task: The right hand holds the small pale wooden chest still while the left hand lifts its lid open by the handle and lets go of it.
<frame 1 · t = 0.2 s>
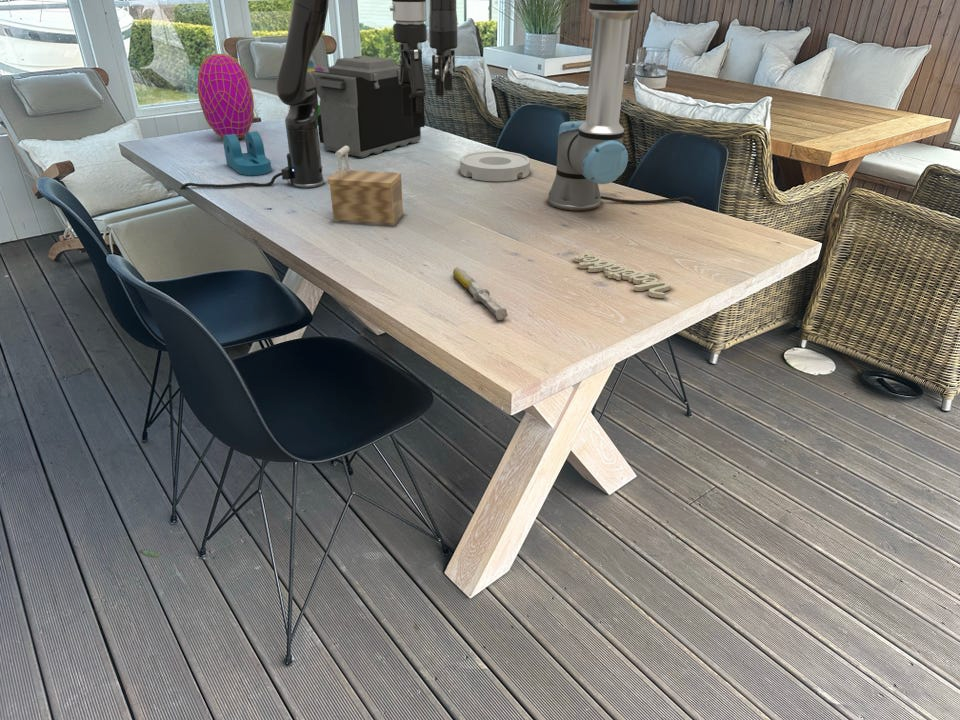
left hand: (444, 93, 191), 29 cm above the table, tool pointing down, fingers open, 8 cm apart
right hand: (413, 121, 165), 28 cm above the table, tool pointing down, fingers open, 13 cm apart
decorative egg: (233, 139, 265), on the table
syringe: (478, 297, 145), on the table
ashtray: (494, 172, 229), on the table
chest: (369, 218, 187), on the table
camera mount: (251, 168, 229), on the table
lid: (363, 165, 180), point 14 cm above the table, hinge at 0.0°
decorative sign: (623, 275, 156), on the table
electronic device: (371, 146, 258), on the table
potted flower: (317, 123, 292), on the table
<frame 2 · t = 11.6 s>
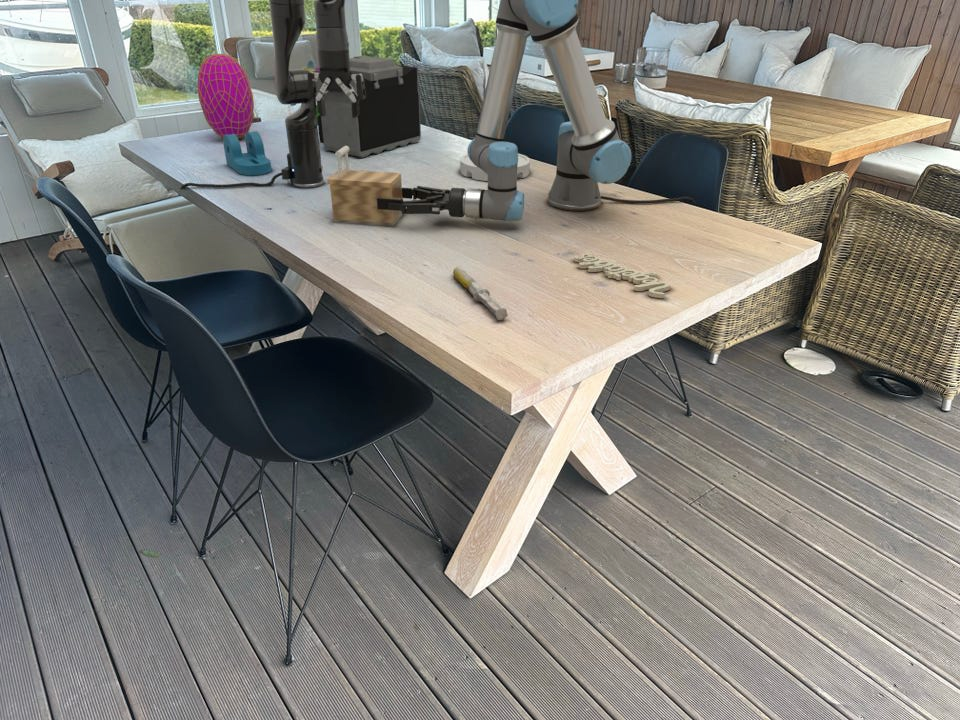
left hand: (339, 116, 175), 26 cm above the table, tool pointing down, fingers open, 8 cm apart
right hand: (383, 197, 184), 6 cm above the table, tool horizontal, fingers closed on chest, 10 cm apart
chest: (368, 218, 187), on the table, touching right hand
everything else where it was.
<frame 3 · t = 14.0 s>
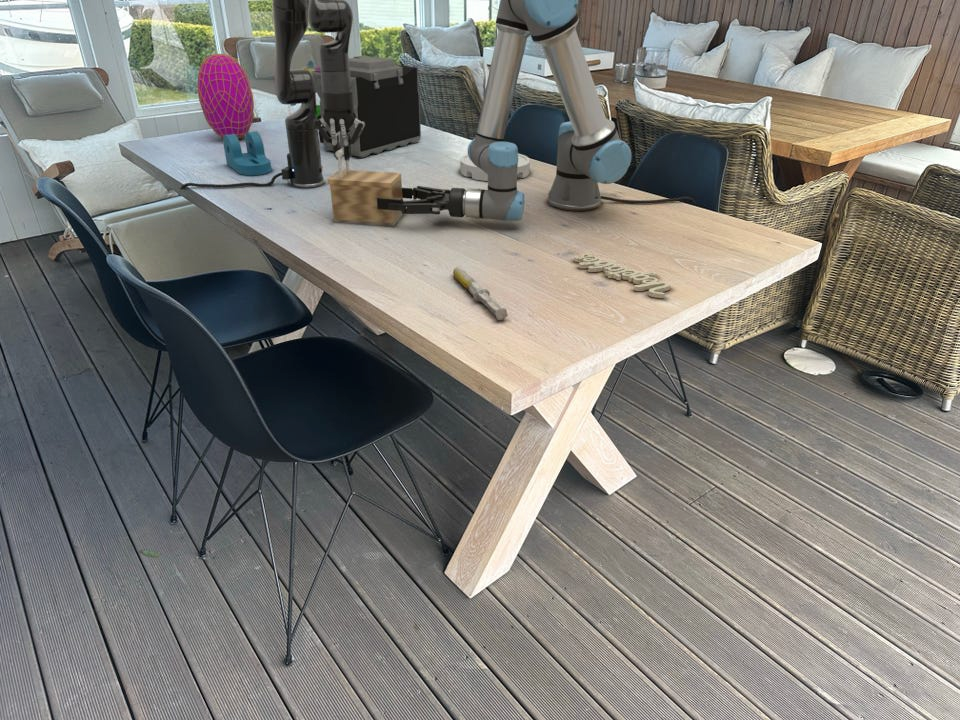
left hand: (343, 159, 180), 16 cm above the table, tool pointing down, fingers closed on lid
right hand: (383, 197, 184), 6 cm above the table, tool horizontal, fingers closed on chest, 10 cm apart
chest: (369, 218, 187), on the table, touching right hand
lid: (363, 165, 180), point 14 cm above the table, hinge at 0.0°, touching left hand
everything else where it was.
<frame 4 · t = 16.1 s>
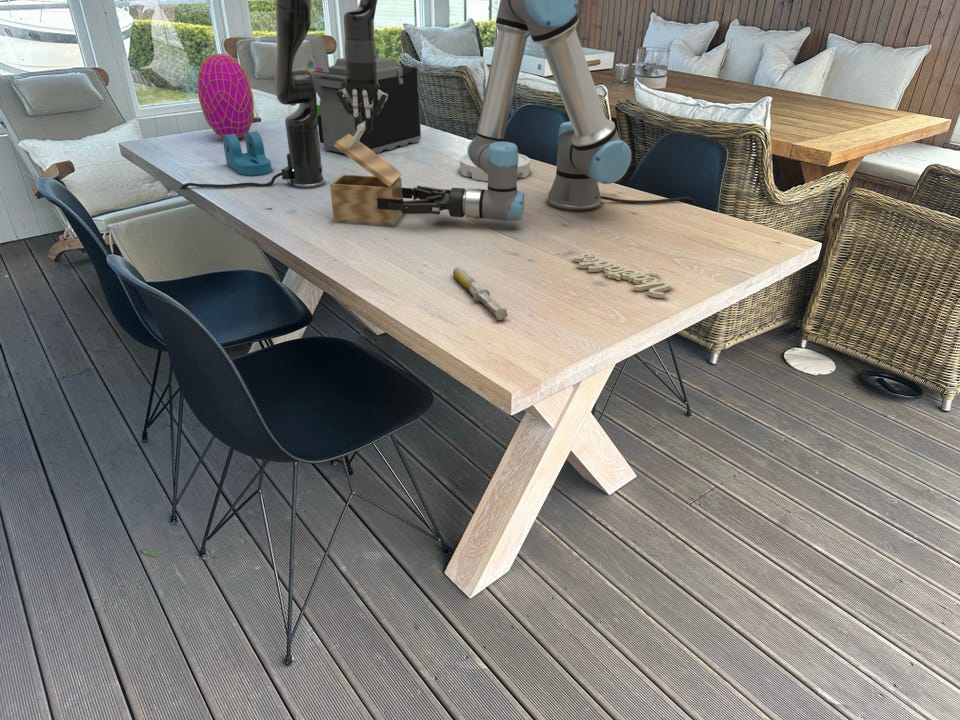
left hand: (364, 132, 176), 23 cm above the table, tool pointing down, fingers closed on lid
right hand: (383, 197, 184), 6 cm above the table, tool horizontal, fingers closed on chest, 10 cm apart
chest: (369, 218, 187), on the table, touching right hand
lid: (375, 149, 177), point 19 cm above the table, hinge at 34.8°, touching left hand
everything else where it was.
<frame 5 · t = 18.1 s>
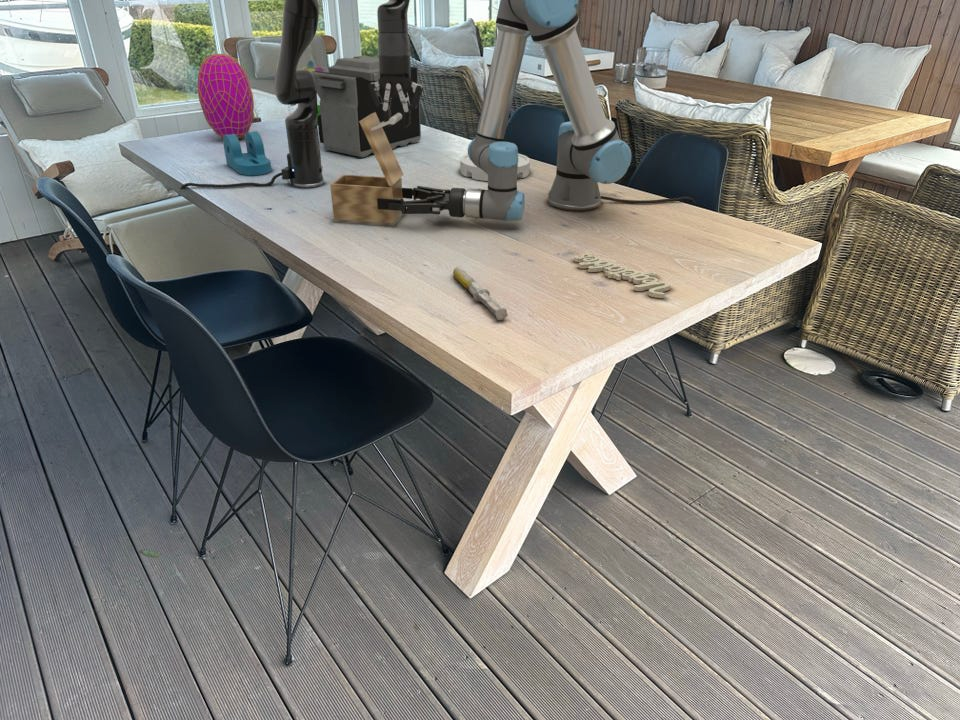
left hand: (397, 126, 173), 25 cm above the table, tool pointing down, fingers open, 4 cm apart
right hand: (383, 197, 184), 6 cm above the table, tool horizontal, fingers closed on chest, 10 cm apart
chest: (369, 218, 187), on the table, touching right hand
lid: (393, 144, 176), point 20 cm above the table, hinge at 66.7°
everything else where it was.
when the right hand's fingers open (6 cm above the table, at t = 21.6 s): chest stays where it is, on the table.
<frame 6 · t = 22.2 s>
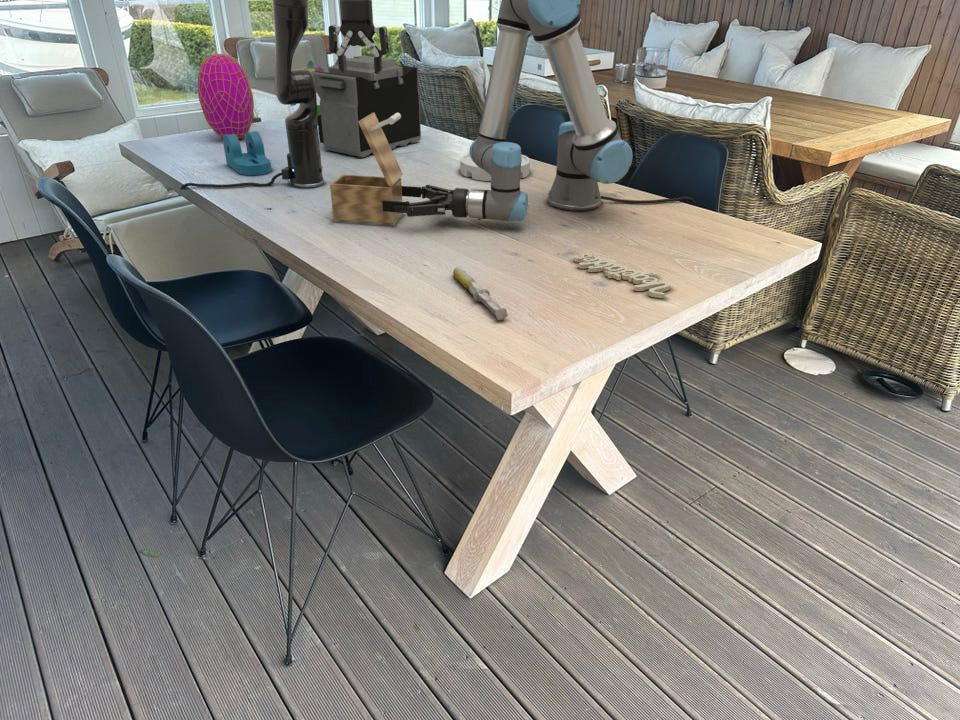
left hand: (360, 72, 168), 37 cm above the table, tool pointing down, fingers open, 8 cm apart
right hand: (390, 198, 183), 6 cm above the table, tool horizontal, fingers open, 13 cm apart
chest: (368, 218, 187), on the table
lid: (393, 144, 176), point 20 cm above the table, hinge at 66.1°
everything else where it was.
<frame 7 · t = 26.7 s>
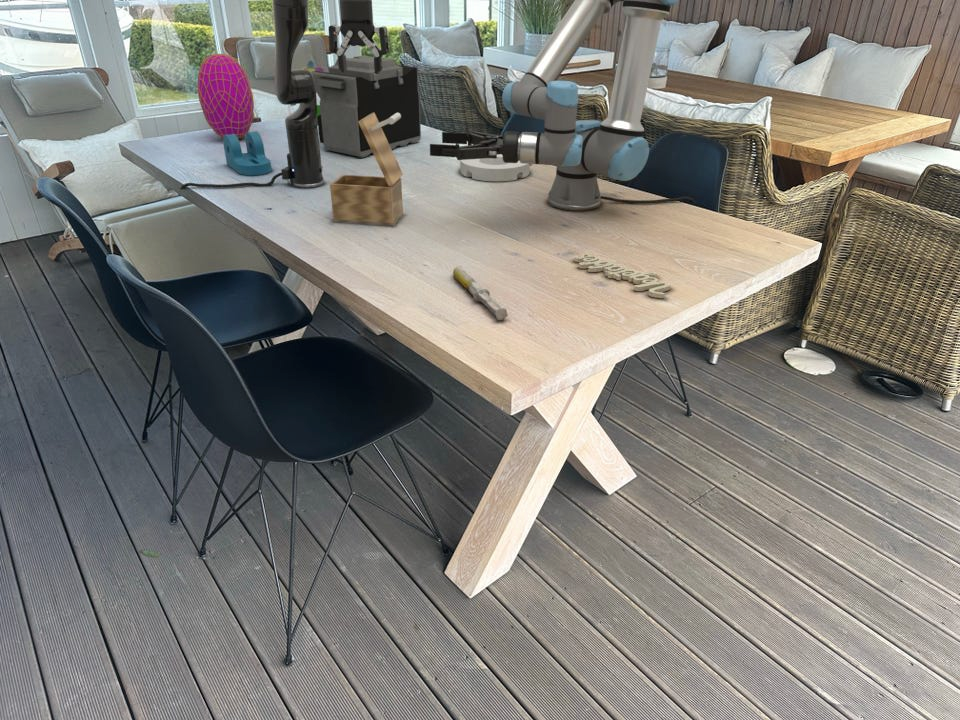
left hand: (360, 72, 168), 37 cm above the table, tool pointing down, fingers open, 8 cm apart
right hand: (436, 143, 174), 21 cm above the table, tool horizontal, fingers open, 13 cm apart
nothing on the table moved.
at the end: lid at +66° (first picture: +0°); the left hand is holding nothing; the right hand is holding nothing; chest tilted 0°; chest never tilted more than 1° during the clip; chest moved 0.1 cm from its start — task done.
